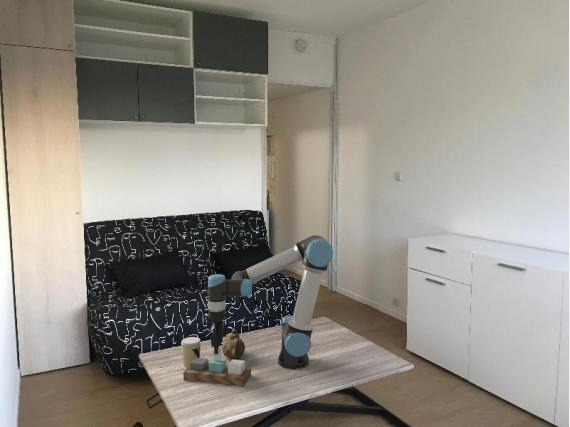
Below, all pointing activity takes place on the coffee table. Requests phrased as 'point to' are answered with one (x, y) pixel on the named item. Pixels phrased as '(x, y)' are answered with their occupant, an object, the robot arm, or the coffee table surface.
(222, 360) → the teal key
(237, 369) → the white key
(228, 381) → the frame
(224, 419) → the coffee table surface
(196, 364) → the charcoal key
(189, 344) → the coffee cup
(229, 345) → the carved stone sculpture
